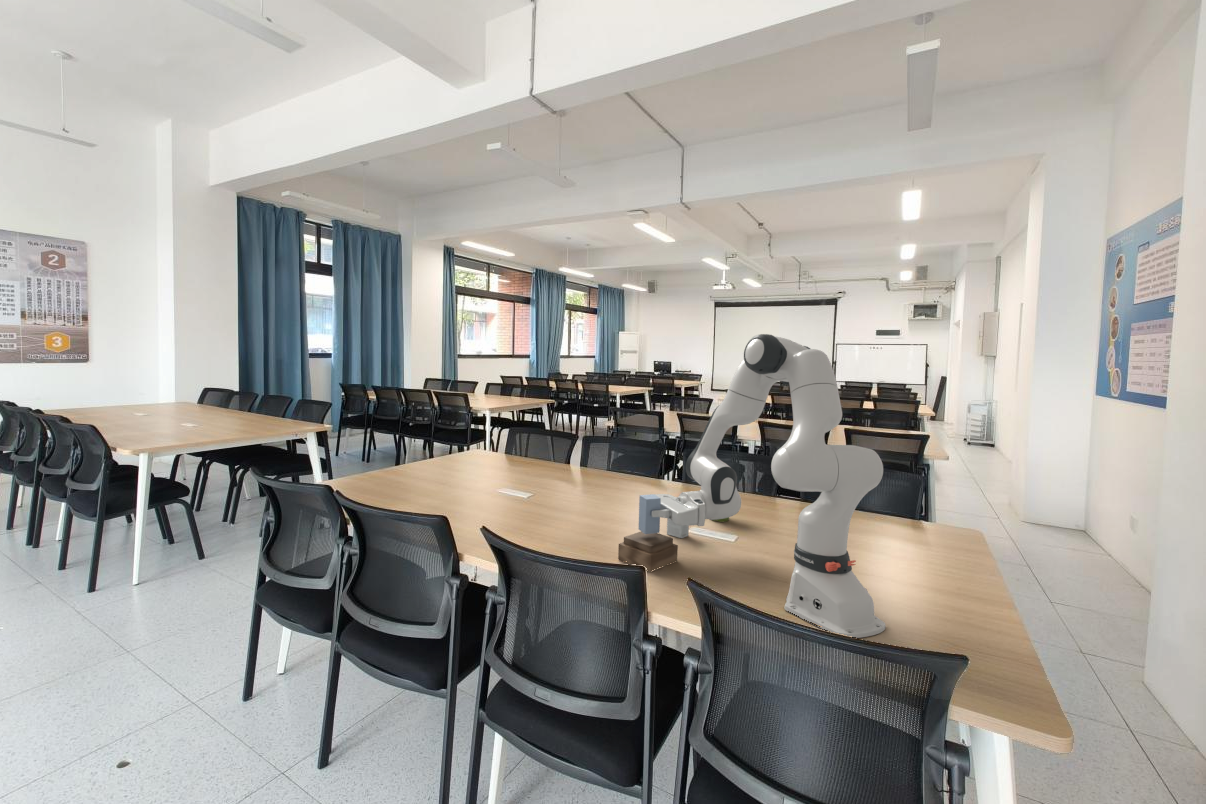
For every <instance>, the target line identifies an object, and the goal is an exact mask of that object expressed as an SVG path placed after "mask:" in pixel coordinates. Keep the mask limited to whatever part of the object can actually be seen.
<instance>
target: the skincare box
mask: <svg viewBox="0 0 1206 804" xmlns="http://www.w3.org/2000/svg"><path fill="white" fill-rule="evenodd" d="M675 497H676V496H675ZM677 497H678V496H677ZM677 497H676V498H677ZM666 519H667V518H666ZM666 522H667V523H666V535H669V536H672V537H674V538H675V537H676V538H678V539H684V538H686V537H688V536H689V530H690V528H689V527H690V526H681V525H677V524H675V523H674V522H672V521H670V520H669V519H667V521H666Z"/></svg>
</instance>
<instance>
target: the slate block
mask: <svg viewBox="0 0 1206 804" xmlns="http://www.w3.org/2000/svg"><path fill="white" fill-rule="evenodd" d="M654 494H655V493H654ZM654 494H652V493H651V494H641V495H639V499H638V500H639V503H638V530H639V532H641V531H642V532H643V533H644V534H652V533H658V534H660V533H661V532H660V530H661V529H660V527H661V525H660V524H661V517H652V516H651V515H650V511H651V510H654V509H656V510H660V505H661V498H659V497H658V496H656V495H654Z"/></svg>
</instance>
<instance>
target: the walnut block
mask: <svg viewBox="0 0 1206 804" xmlns="http://www.w3.org/2000/svg"><path fill="white" fill-rule="evenodd" d="M678 548H679V546H678V545H677V544H676V543H674V538H673V537H670V536H667V535H664V534H661V533H652V534H644V533H643V532H642V531H638V532H635V533H632V534H629V535H626V536H623V542H620V543H618V554H617V555H618V557H617V560H618V559H619V561H621V562H623V561H627V562H624V563H626V564H628V565H630V564H636V565H643V566H645V567H646V568H647V570H648V571H647V572H648V573H652V572H653V571H652V570H654V569H657V568H659V567H662V566H664V567H666V566H665V565H667V564H669V565H671V564H670V563H672V564H673V562H674V563H676V562H678V551H679V550H678ZM675 561H676V562H675ZM667 566H668V565H667ZM662 568H663V567H662ZM657 570H658V569H657ZM651 571H652V572H651Z"/></svg>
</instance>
